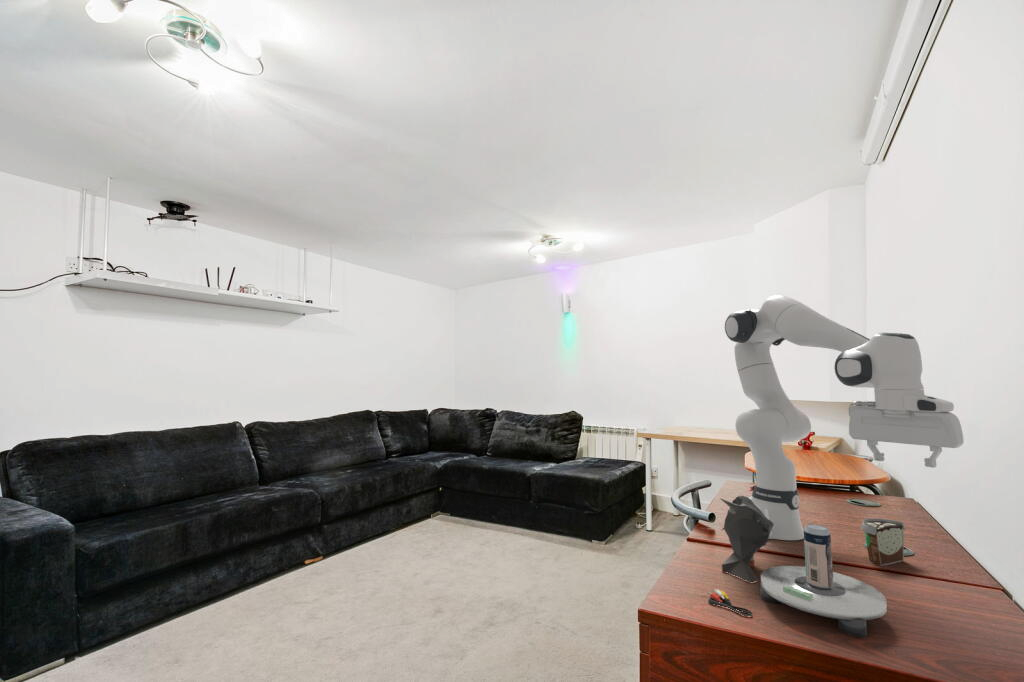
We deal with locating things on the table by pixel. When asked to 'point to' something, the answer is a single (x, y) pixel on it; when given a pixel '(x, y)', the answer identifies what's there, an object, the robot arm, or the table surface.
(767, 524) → the dark grey angular piece
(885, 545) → the food container
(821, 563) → the beer can
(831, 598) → the round grey plate
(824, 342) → the robot arm
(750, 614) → the composite cable
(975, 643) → the table surface
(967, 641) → the table surface
